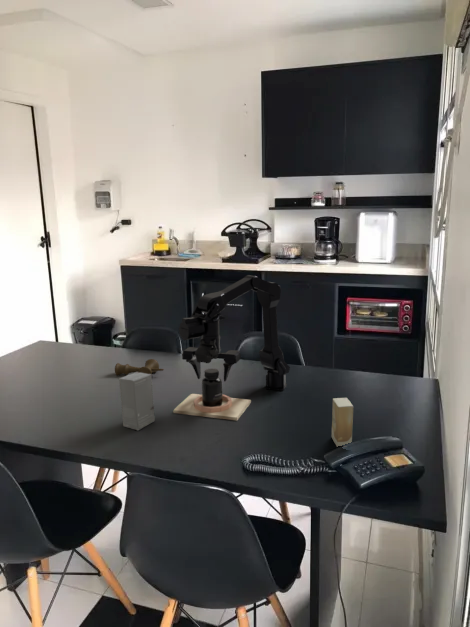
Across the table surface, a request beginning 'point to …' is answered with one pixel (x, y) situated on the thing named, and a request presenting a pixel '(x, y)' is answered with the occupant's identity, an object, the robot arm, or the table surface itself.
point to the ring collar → (213, 409)
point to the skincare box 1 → (137, 400)
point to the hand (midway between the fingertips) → (212, 379)
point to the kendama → (149, 368)
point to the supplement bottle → (212, 388)
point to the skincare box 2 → (342, 421)
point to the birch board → (230, 414)
